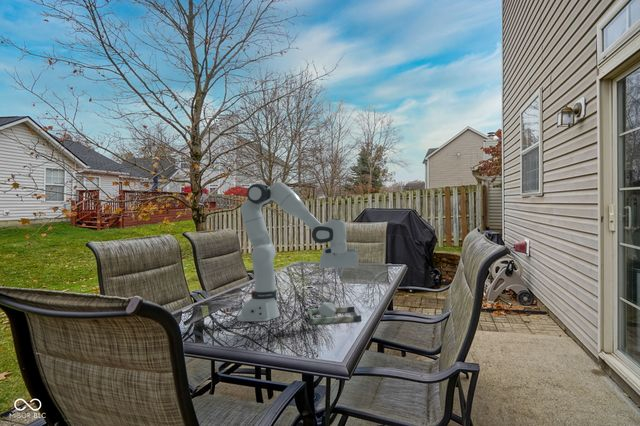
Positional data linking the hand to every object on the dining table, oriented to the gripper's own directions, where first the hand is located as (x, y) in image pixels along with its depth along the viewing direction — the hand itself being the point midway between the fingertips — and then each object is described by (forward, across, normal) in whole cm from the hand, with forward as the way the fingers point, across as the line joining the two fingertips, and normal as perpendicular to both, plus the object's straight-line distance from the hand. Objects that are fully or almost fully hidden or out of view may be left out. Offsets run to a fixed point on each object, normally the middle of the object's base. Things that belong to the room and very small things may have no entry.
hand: (339, 275), depth 184 cm
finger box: (+21, +4, +1) cm, 22 cm away
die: (+22, +7, +1) cm, 23 cm away
